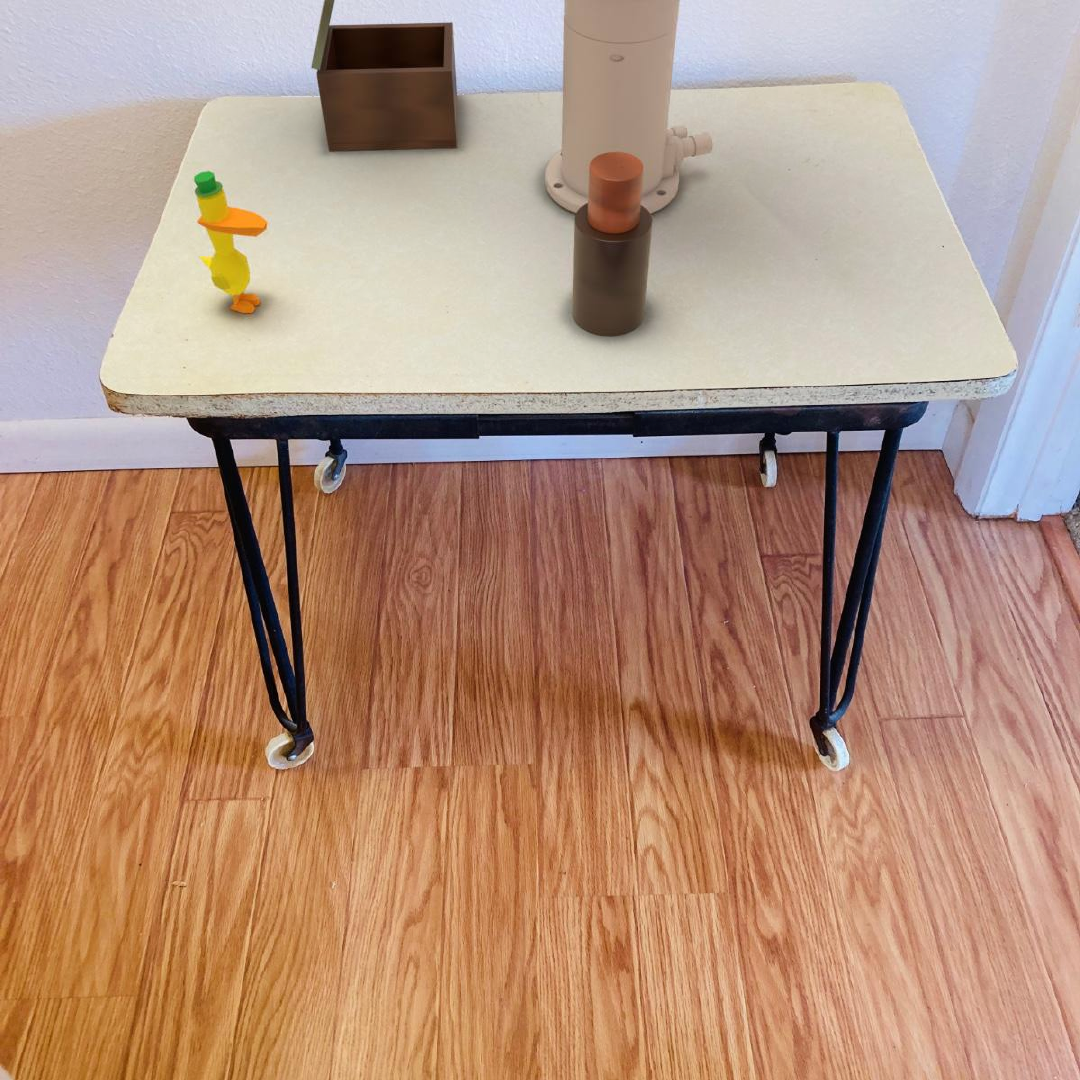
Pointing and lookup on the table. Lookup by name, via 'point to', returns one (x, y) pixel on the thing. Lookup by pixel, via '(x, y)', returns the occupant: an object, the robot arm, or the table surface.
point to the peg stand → (610, 275)
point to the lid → (322, 33)
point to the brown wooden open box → (389, 86)
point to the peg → (614, 192)
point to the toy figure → (227, 240)
